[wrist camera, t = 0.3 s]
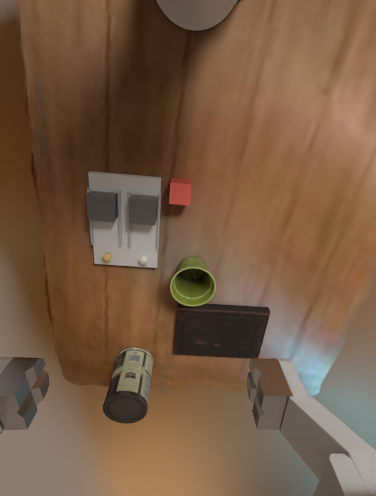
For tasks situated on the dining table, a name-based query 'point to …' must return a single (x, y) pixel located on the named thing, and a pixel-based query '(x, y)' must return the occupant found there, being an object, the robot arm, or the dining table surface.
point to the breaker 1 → (101, 206)
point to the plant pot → (192, 283)
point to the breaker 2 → (142, 209)
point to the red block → (180, 191)
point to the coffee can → (129, 386)
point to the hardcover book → (220, 330)
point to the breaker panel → (125, 222)
